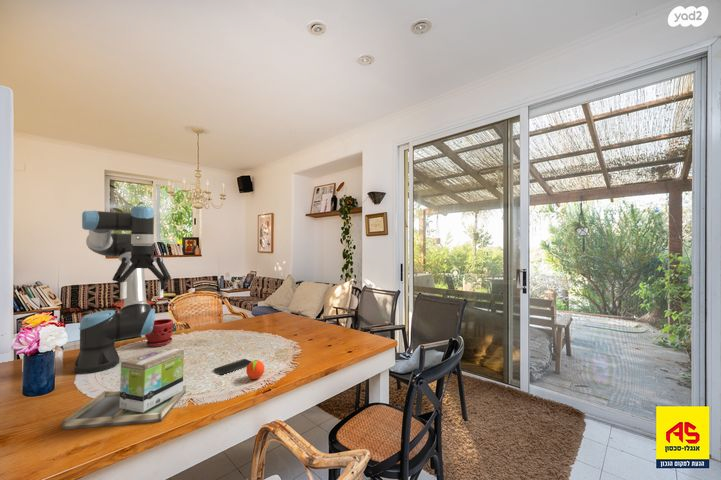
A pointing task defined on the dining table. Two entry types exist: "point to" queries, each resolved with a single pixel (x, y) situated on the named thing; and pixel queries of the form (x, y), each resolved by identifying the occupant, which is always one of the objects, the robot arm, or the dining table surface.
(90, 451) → the dining table surface
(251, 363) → the clementine
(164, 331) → the plant pot
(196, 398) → the dining table surface
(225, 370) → the phone
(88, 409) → the organiser
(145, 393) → the tea box
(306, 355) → the dining table surface
